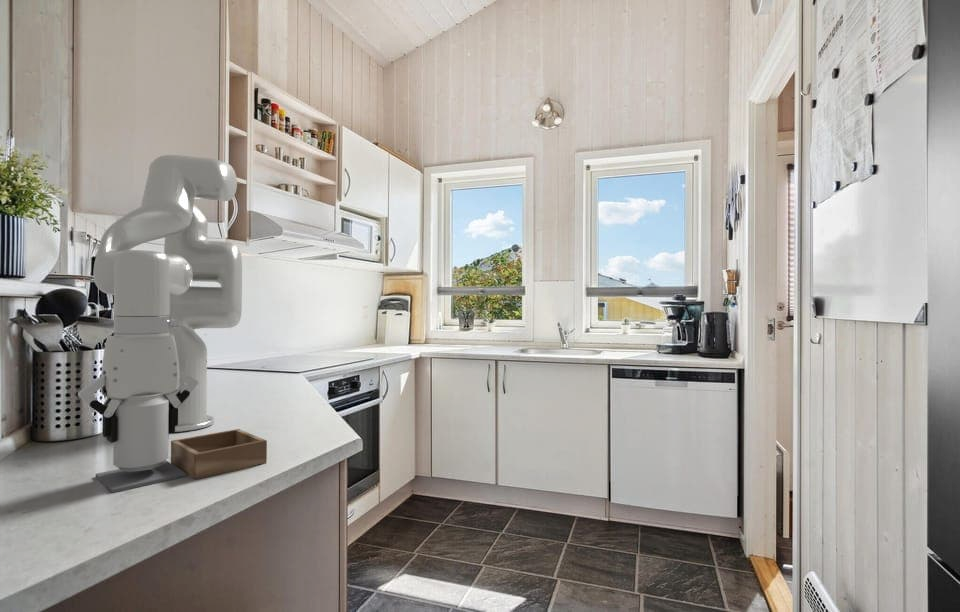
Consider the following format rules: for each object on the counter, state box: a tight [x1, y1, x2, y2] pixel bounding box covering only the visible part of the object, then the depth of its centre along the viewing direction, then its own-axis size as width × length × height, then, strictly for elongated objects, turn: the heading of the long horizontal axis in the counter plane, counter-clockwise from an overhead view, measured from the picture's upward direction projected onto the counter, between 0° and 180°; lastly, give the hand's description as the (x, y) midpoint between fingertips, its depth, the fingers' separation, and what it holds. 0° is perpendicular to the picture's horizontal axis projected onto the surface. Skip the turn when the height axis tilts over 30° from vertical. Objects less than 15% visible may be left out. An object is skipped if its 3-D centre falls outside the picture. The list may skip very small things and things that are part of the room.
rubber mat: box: [95, 459, 187, 494], centre depth 82 cm, size 10×10×1 cm
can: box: [112, 393, 170, 472], centre depth 82 cm, size 8×8×12 cm
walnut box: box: [170, 428, 268, 480], centre depth 90 cm, size 12×12×4 cm
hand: (141, 435), depth 83 cm, fingers closed on can, 7 cm apart
